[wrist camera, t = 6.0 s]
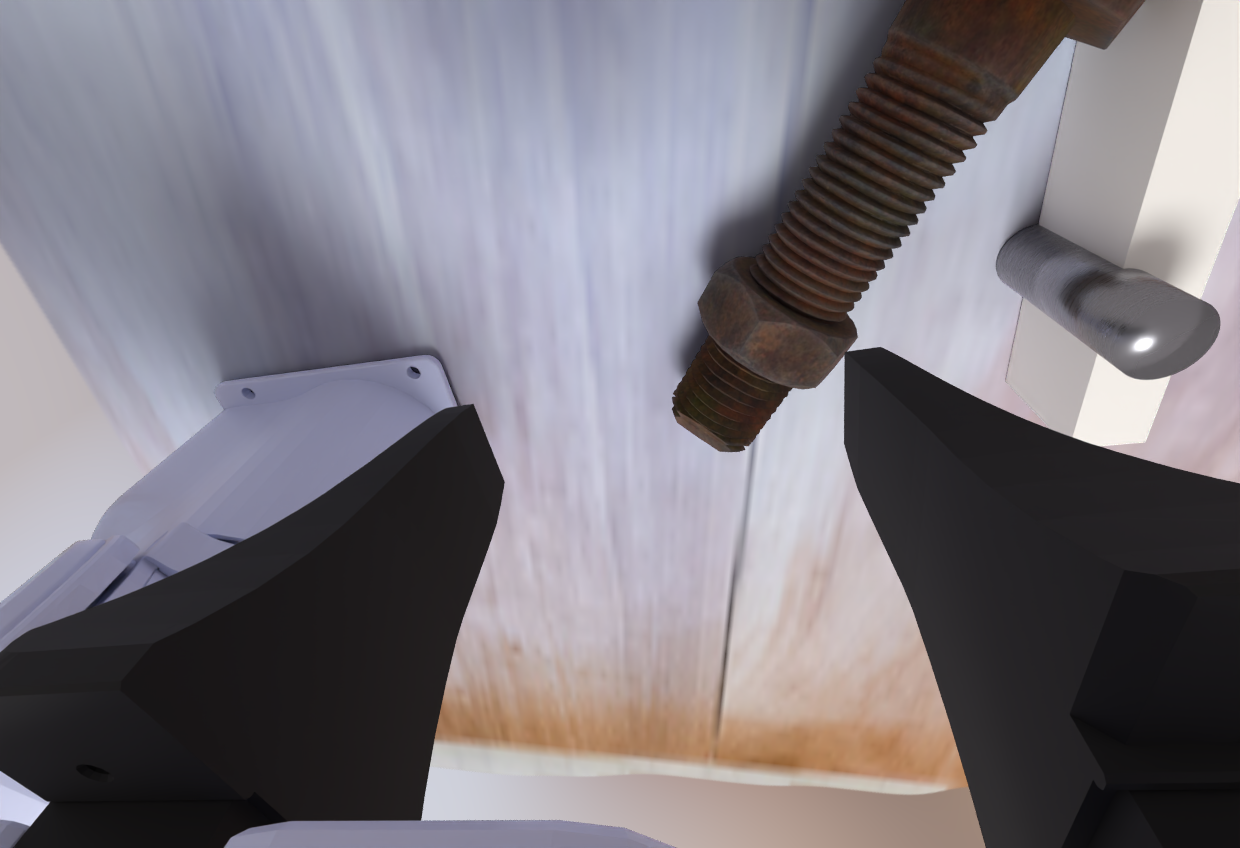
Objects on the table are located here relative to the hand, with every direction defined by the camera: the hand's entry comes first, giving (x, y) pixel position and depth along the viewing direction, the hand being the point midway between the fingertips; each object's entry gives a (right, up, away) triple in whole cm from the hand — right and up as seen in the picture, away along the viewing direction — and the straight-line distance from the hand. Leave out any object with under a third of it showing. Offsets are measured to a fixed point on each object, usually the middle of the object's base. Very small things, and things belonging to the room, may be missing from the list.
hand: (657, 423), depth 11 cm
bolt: (+5, +7, +7) cm, 11 cm away
